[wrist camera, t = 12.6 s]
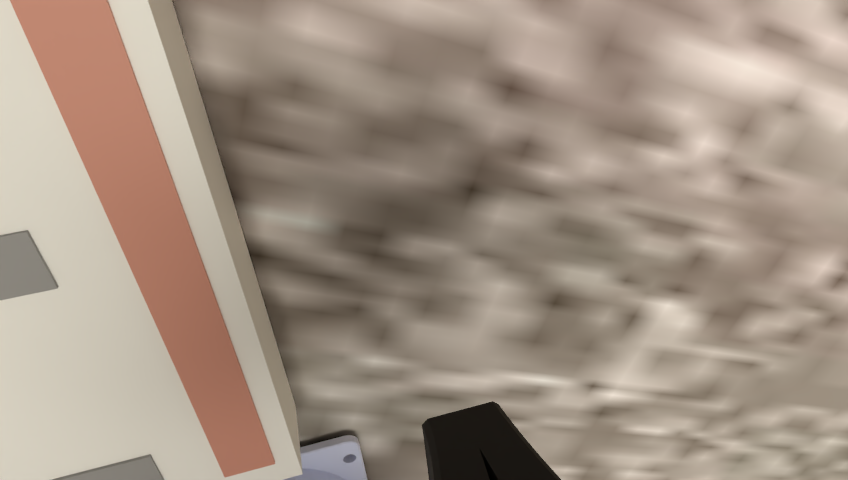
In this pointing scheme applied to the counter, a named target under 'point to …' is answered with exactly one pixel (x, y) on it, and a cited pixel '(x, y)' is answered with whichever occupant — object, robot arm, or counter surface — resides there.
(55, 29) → the breaker panel
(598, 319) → the counter surface
